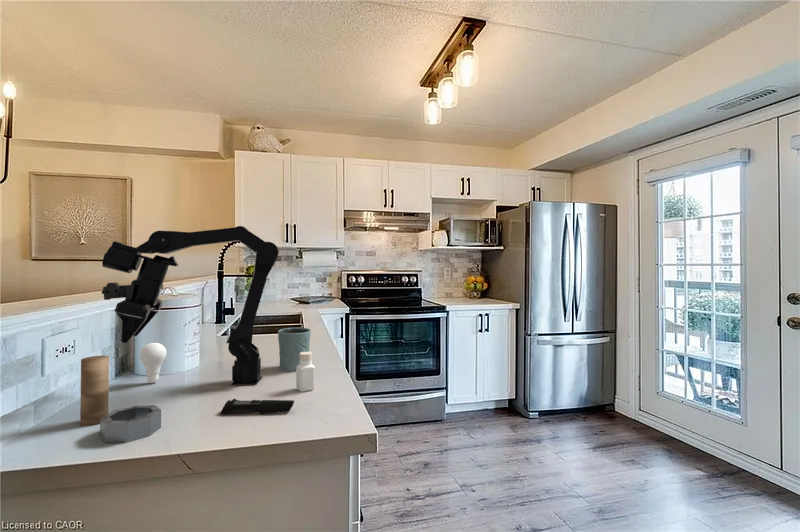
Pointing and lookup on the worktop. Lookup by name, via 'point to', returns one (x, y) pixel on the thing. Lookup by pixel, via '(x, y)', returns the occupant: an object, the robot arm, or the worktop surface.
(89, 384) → the wooden peg
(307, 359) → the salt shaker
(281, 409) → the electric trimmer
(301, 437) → the worktop surface
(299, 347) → the teal plant pot
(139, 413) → the gray faceted open holder
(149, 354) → the lightbulb
